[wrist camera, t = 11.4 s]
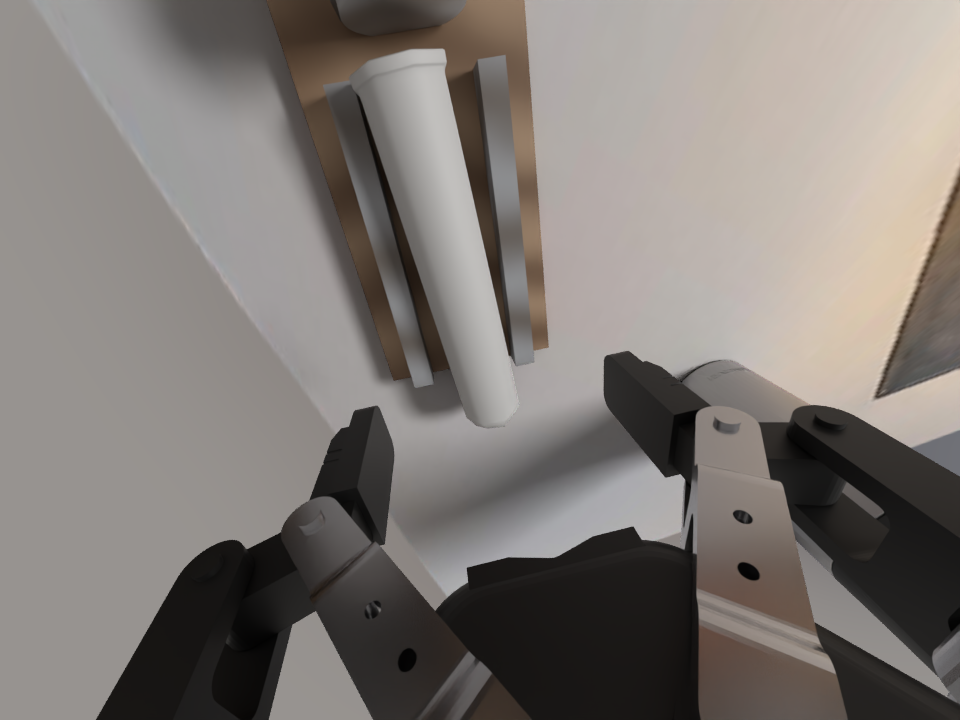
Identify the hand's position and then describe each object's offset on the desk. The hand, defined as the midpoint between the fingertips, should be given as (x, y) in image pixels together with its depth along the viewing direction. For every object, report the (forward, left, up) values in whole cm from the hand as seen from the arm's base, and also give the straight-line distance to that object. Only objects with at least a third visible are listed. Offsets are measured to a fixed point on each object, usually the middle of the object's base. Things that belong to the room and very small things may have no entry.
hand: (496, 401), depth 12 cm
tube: (0, 0, -17) cm, 17 cm away
